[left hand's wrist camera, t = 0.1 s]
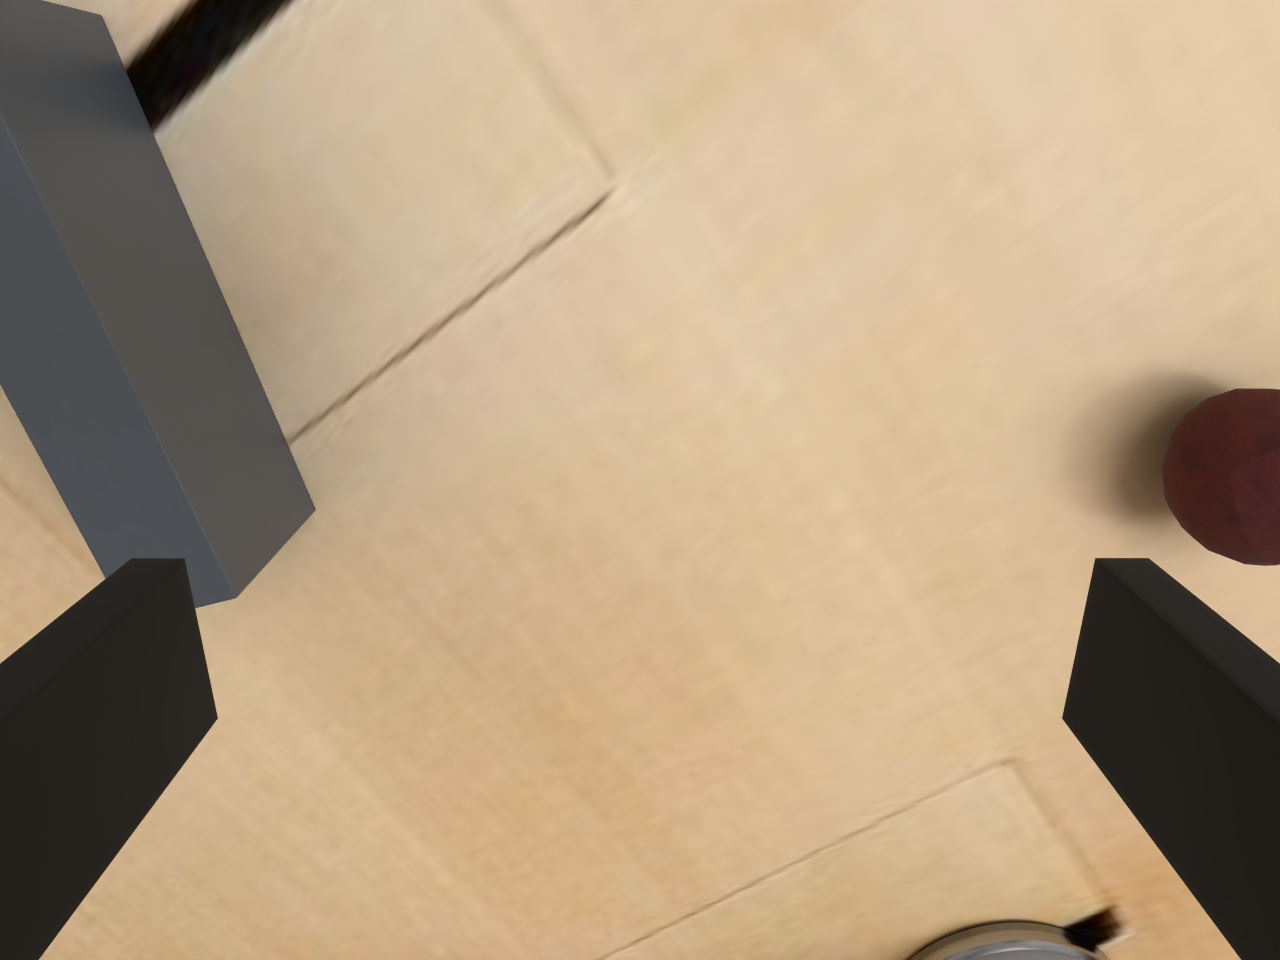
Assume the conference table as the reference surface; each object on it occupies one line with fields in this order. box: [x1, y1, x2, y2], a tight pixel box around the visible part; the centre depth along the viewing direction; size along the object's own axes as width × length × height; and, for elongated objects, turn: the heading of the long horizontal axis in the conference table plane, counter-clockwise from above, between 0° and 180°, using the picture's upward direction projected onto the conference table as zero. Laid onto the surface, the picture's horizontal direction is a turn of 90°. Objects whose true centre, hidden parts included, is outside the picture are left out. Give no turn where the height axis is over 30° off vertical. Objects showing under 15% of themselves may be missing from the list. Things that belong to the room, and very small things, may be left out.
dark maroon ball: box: [1163, 389, 1280, 566], centre depth 38 cm, size 7×8×7 cm
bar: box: [0, 0, 315, 608], centre depth 35 cm, size 22×5×9 cm, turn 15°
